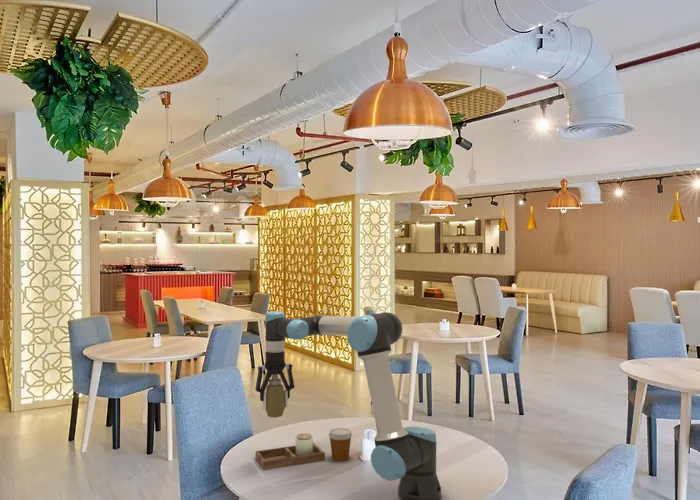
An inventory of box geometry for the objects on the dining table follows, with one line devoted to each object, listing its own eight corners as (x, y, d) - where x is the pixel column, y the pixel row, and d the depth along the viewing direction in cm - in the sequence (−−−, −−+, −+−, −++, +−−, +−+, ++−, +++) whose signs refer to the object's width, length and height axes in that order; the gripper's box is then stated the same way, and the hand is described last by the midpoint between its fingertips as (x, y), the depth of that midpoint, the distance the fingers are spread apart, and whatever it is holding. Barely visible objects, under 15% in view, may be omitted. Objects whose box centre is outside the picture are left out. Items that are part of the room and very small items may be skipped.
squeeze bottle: (262, 414, 239) (262, 369, 238) (281, 411, 242) (281, 367, 242) (268, 419, 231) (268, 373, 231) (288, 417, 235) (287, 371, 234)
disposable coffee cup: (349, 466, 234) (349, 435, 234) (326, 464, 236) (326, 434, 236) (354, 457, 244) (354, 428, 244) (331, 455, 246) (331, 427, 245)
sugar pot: (315, 458, 239) (315, 437, 239) (298, 461, 237) (298, 439, 237) (309, 453, 246) (309, 432, 246) (293, 455, 243) (293, 434, 243)
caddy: (324, 462, 238) (324, 452, 238) (263, 472, 228) (263, 462, 228) (313, 452, 250) (313, 442, 250) (255, 461, 240) (255, 451, 240)
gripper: (297, 347, 244) (297, 402, 244) (246, 351, 235) (246, 408, 236) (303, 350, 237) (303, 407, 237) (251, 354, 229) (251, 413, 229)
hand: (275, 407), depth 236 cm, fingers closed on squeeze bottle, 8 cm apart
